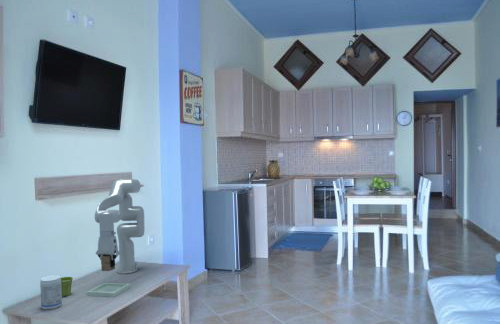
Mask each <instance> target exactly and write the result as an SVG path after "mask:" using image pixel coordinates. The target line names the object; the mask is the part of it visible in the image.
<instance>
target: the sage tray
mask: <svg viewBox="0 0 500 324" xmlns="http://www.w3.org/2000/svg"><path fill="white" fill-rule="evenodd" d="M130 288H131V283H125V282H124V283H121V282H119V283H118V282H103V283H101V284H99V285H98V286H96V287H93V288H91V289H90V290H88V291H87V292H86V293H87V294H86V296H88V297H89V296H90V297H103V298H104V297H106V298H115V297H117V296H118V295H120V294H121V293H123V292H125V291H126V290H128V289H130Z"/></svg>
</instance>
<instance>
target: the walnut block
mask: <svg viewBox="0 0 500 324" xmlns="http://www.w3.org/2000/svg"><path fill="white" fill-rule="evenodd" d="M110 261H111V257H110V255H103V256H101V260H100V263H101V264H100V265H101V272H111V271H113V270H115V269H116V267H115V266H116V265H115V266H114V267H111V262H110Z"/></svg>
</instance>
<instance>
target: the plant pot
mask: <svg viewBox="0 0 500 324" xmlns="http://www.w3.org/2000/svg"><path fill="white" fill-rule="evenodd" d="M73 279H74V277H73V276H63V277H61V293H62V298H64V297H65V296H66V297H68V296H70V295H71V294H72V284H73V283H72V282H73V281H74V280H73Z"/></svg>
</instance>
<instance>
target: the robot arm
mask: <svg viewBox="0 0 500 324" xmlns="http://www.w3.org/2000/svg"><path fill="white" fill-rule="evenodd" d="M140 191H141V182H140V180H138V179H133V178H123V179H119V178H118V179H116V180H114V181H112V184H111V186H110V190H109V193H108V196H107V197H105V198H104V199H103V200H101V201H100V202H99V203H98V204H97V206H96V209H95V212H94V221H95V222H96V223H97V224H98V225H99V237H98V241H97V250H96V251H95V255H97V257H98V258H99V260H100V261H101V256H103V255H110V257H111V261H110V262H111V267H114V266H116V259H117V258H118V257H119V268H118V269H117V271H116V272H117V273H118V274H122V275H123V274H125V275H126V274H132V273H136V272H137V271H138V268H137V267H136V266H137V265H138V262H137V261H136V260H135V244H134V241H133V240H132V238H133V239H134V238H141V237H143V236H144V235H145V230H146V229H145V210H144V208H143V207H142V206H140V205H133V197H132V196H131V195H130V194H134V193H135V194H137V193H139V192H140ZM117 205H118V209H111V208H113V207H116V206H117ZM120 221H122V222H123V223H120V224H118V225H117V227H116V231H115V224H116V223H118V222H120ZM133 221H134V222H133ZM124 222H125V223H124ZM116 234H117V236H116ZM117 239H118V240H117Z"/></svg>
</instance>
